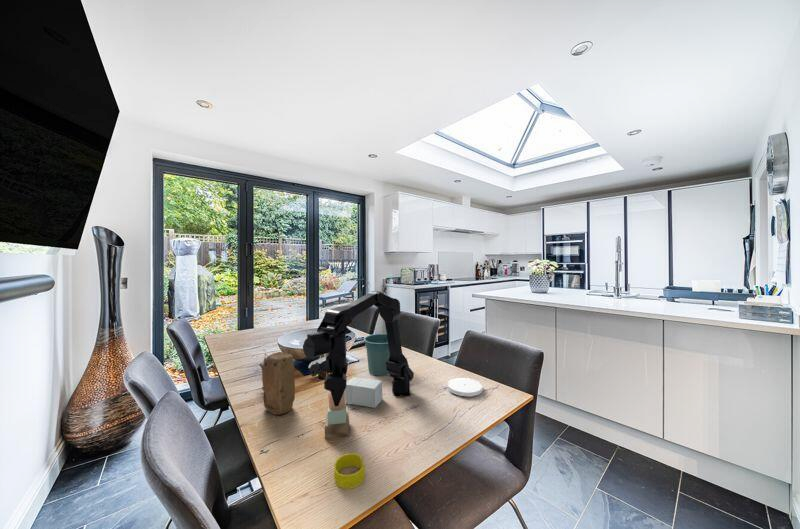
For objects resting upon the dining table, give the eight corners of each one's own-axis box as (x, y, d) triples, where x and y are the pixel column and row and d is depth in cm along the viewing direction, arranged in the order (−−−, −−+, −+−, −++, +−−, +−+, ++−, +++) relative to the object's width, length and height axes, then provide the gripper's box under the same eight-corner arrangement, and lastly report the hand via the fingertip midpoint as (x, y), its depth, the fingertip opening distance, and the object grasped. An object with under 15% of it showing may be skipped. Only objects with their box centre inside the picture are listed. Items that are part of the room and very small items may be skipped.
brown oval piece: (345, 401, 94) (344, 387, 94) (344, 408, 89) (343, 394, 89) (329, 402, 94) (329, 389, 93) (328, 410, 89) (327, 396, 89)
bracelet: (337, 493, 67) (337, 479, 67) (331, 470, 74) (331, 458, 74) (368, 483, 70) (367, 470, 70) (359, 462, 77) (358, 450, 77)
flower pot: (397, 378, 131) (397, 342, 131) (361, 378, 131) (361, 343, 131) (398, 364, 148) (398, 333, 147) (366, 365, 148) (366, 333, 148)
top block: (346, 413, 94) (346, 401, 94) (346, 422, 89) (345, 410, 89) (329, 415, 94) (328, 402, 93) (327, 424, 88) (327, 411, 88)
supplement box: (344, 403, 108) (374, 408, 104) (344, 383, 108) (374, 388, 104) (353, 395, 115) (382, 399, 111) (353, 376, 115) (382, 380, 111)
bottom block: (349, 424, 95) (348, 412, 95) (348, 437, 88) (348, 424, 88) (327, 426, 94) (327, 414, 94) (324, 439, 87) (324, 426, 87)
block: (297, 408, 105) (296, 353, 105) (279, 418, 99) (278, 360, 98) (277, 401, 111) (276, 349, 110) (259, 410, 104) (258, 355, 104)
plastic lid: (458, 401, 110) (458, 395, 110) (441, 386, 123) (441, 380, 123) (489, 395, 114) (489, 389, 114) (470, 381, 128) (470, 375, 128)
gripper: (314, 342, 99) (315, 387, 99) (305, 361, 80) (306, 417, 81) (347, 340, 100) (348, 385, 101) (345, 359, 82) (346, 413, 82)
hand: (337, 398), depth 91 cm, fingers open, 9 cm apart
